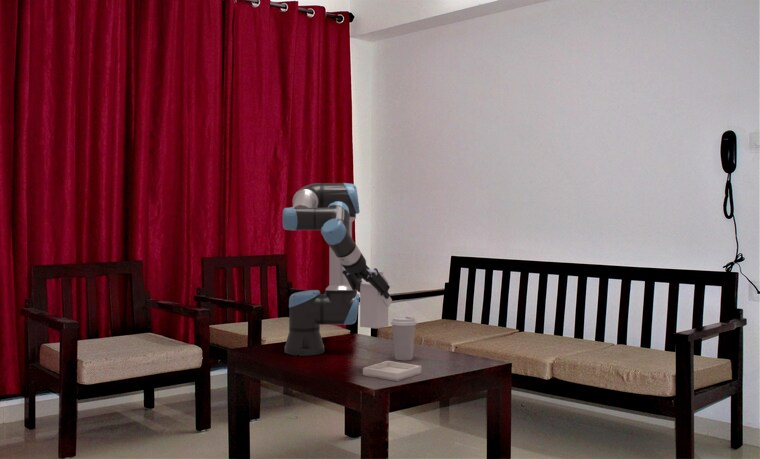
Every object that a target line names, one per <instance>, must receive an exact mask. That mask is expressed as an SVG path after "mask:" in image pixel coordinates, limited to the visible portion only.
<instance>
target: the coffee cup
mask: <svg viewBox="0 0 760 459" xmlns="http://www.w3.org/2000/svg"><path fill="white" fill-rule="evenodd" d="M390 324H391V327H392V339H393V351H394V359H395V360H398V361H412V360H413V359H414V356H413V355H414V346H415V335H416V334H415V333H416V325H418V323H417V320H416V319H415V317H414V316H405V315H402V316H400V315H399V316H394V317H393V318H392V320H391V322H390Z"/></svg>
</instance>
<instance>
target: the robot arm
mask: <svg viewBox="0 0 760 459" xmlns="http://www.w3.org/2000/svg"><path fill="white" fill-rule="evenodd" d="M358 196H359V195H358V189H357V185H356V184H354V183H347V182H332V183H331V182H327V183H325V182H324V183H323V182H322V183H321V182H318V183H317V182H315V183H310V184H307V185H304V186H303V187H301V188H299V190H297V191H295V194H294V195H293V198H292V206H291V207H285V208H283V210H282V227H283V229H284V230H286V231H320V233H321V235H322V237H323V239H324V241H325V242H326V244H327V246H329V272H328V273H329V285H328V286H326V288H325V293H321V291H320V290H319V289H311V290H310V289H309V290H302V291H298V292H293V293H292V294H291V295H290V296H289V298H288V308H289V310H288V312H289V314H288V316H289V319H288V320H289V321H288V326H289V327H288V335H287V338H286V343H285V345H284V353H285V354H286V353H287V354H286V355H289V354H290V356H297V355H299V357H300V356H303V357H304V356H305V357H306V356H308V357H309V356H316V355H317V356H318V355H321V354H323V353H325V345H324V343H323V342H324V341H323V338H322V336H321V330H320V327H321V325H323V326H324V325H325V326H327V325H329V326H330V325H332V326H333V325H335V326H336V325H338V326H340V325H343V326H345V325H353V324H355V323H356V322H357V317H358V313H359V312H358V310H359V306H360V283H361V282H362V280H363V279H364V280H365V281H366V282H369V283H370V284H371V285H372V286H373V287H375V288H376V289H377V290H378V291H379V292H380V296H381V297H382V299H383V301H384V302H385V304H386V305H387V306H388V308H390V306H391V303H392V302H393V299H392V297H391V296H390V294H389V289H390V287H391V286H390V285H389V283H388V284H387V282H388V281H387V282H386V281H385V280H384V279H383V278H382V276H381V275H380V274H379V272H380V271H379V270H378V268H373V269H372V268H370V267H369V266H368V265H367V260H366V258H365V256H364V254H363V253H362V252H361V250H360V248H359V247H358V245H357V244H356V243H355V241H354V239H353V222H354V221H355V220H356V219H357V215H358V214H360V204H359V197H358ZM357 292H358V293H359V294H358V293H357Z"/></svg>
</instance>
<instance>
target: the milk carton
mask: <svg viewBox="0 0 760 459" xmlns="http://www.w3.org/2000/svg"><path fill="white" fill-rule="evenodd" d="M378 272H379V274H380V275H381V276H382V278H383V279H384V280H385V281H386V282H387V284H388V285H389V282H388V280H387V279H386V277H385V276H384V272H383V271H378ZM359 327H360V328H369V329H380V328H381V329H382V328H385V327H389V307H388V306H387V305H386V304H385V302H384V301H383V299H382V297H381V296H380V292H379V291H378V290H377V289H376V288H375V287H373V286H372V285H371V284H370V283H369V282H366V281H365V280H364V279H362V282H361V283H360V292H359Z"/></svg>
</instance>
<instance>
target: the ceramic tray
mask: <svg viewBox="0 0 760 459" xmlns="http://www.w3.org/2000/svg"><path fill="white" fill-rule="evenodd" d="M421 374H422V366H421V365H417V364H410V363H405V362H398V361H392V360H385V361H382V362H378V363H375V364H372V365H368V366H365V367H362V376H366V377H370V378H376V379H382V380H386V381H387V380H388V381H393V382H400V381H403V380H406V379H410V378H411V377H415V376H419V375H421Z"/></svg>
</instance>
